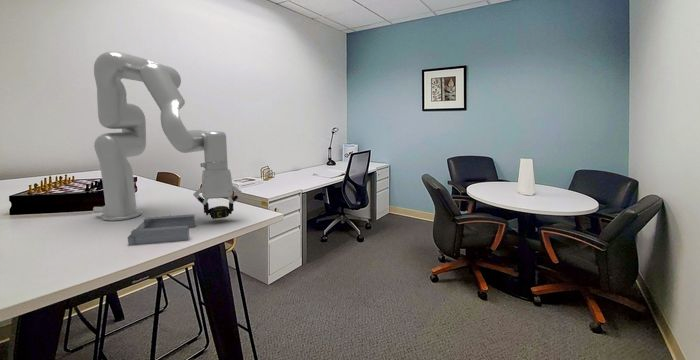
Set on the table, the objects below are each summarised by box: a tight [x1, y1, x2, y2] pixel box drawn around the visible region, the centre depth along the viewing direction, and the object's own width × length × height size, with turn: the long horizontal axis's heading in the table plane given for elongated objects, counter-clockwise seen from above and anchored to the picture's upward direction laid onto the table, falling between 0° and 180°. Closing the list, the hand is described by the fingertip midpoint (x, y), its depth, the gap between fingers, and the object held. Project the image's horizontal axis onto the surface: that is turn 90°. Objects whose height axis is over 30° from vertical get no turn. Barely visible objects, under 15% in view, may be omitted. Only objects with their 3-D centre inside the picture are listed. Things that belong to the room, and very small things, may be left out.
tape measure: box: [208, 205, 230, 220], centre depth 118 cm, size 7×7×4 cm
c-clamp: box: [127, 214, 196, 246], centre depth 106 cm, size 16×18×4 cm
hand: (219, 213), depth 119 cm, fingers closed on tape measure, 7 cm apart
